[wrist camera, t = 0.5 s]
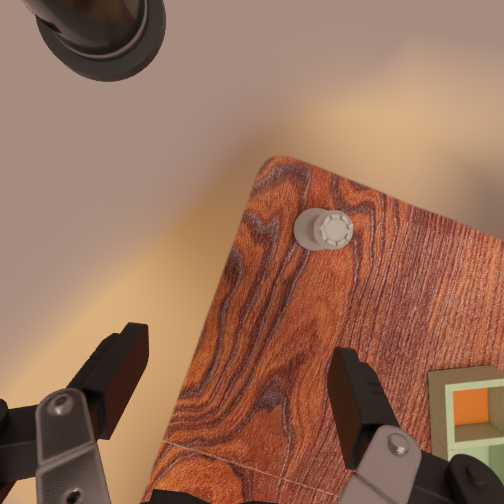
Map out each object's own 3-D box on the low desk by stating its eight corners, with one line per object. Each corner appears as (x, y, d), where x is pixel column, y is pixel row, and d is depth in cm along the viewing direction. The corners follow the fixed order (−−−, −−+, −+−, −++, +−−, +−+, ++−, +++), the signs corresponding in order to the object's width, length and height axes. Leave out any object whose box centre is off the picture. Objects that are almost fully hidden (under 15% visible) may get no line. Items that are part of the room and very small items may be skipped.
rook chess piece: (293, 251, 32) (310, 259, 24) (292, 208, 32) (308, 202, 24) (335, 249, 32) (365, 256, 24) (334, 207, 32) (364, 200, 24)
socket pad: (427, 371, 34) (444, 384, 31) (490, 364, 34) (513, 377, 31) (432, 483, 35) (450, 507, 32) (493, 477, 35) (516, 499, 32)
